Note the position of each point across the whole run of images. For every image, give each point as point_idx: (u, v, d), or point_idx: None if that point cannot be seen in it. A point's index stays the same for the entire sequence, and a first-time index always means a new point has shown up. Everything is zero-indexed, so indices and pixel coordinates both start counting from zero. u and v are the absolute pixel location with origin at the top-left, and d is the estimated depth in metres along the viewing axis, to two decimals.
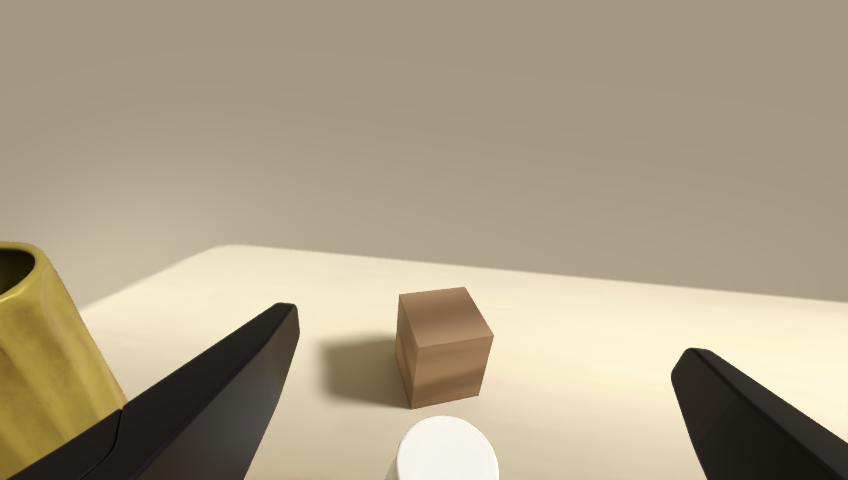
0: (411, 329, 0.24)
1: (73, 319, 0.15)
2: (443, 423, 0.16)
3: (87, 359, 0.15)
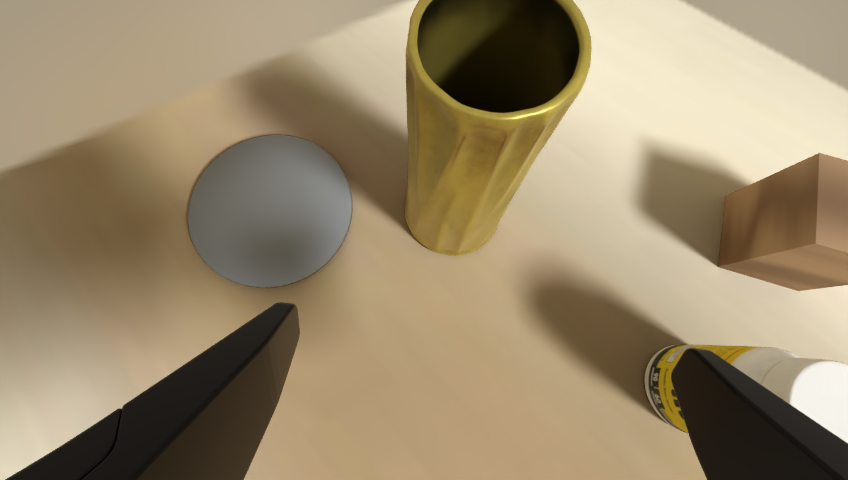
0: (815, 213, 0.18)
1: None
2: None
3: None
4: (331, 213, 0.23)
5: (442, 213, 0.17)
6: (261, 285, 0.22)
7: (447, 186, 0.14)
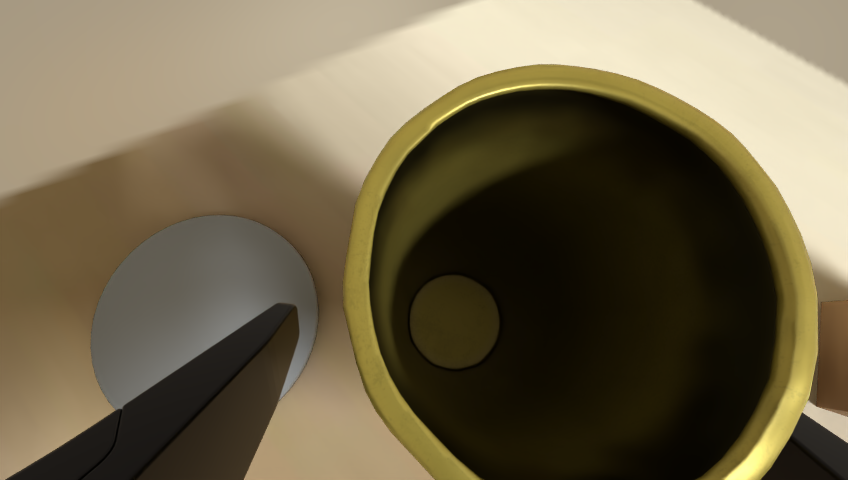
0: None
1: None
2: None
3: None
4: None
5: None
6: None
7: None
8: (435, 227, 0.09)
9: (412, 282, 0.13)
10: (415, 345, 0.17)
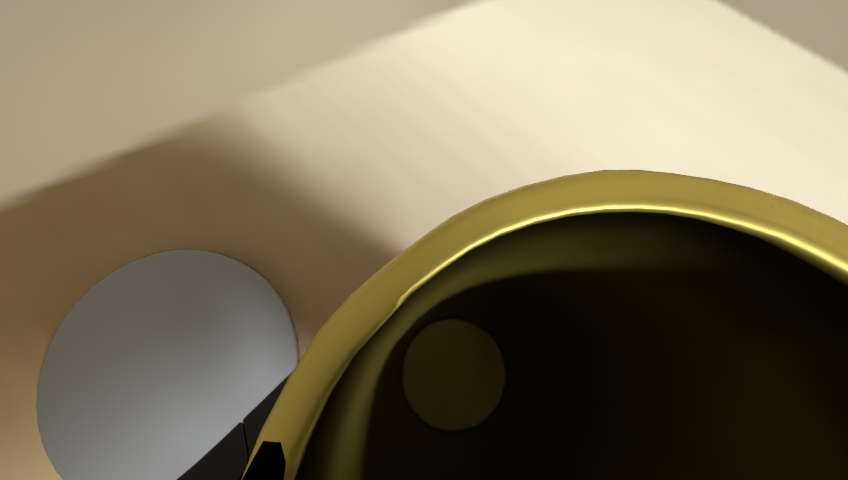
0: None
1: None
2: None
3: None
4: (263, 383, 0.15)
5: None
6: None
7: None
8: (427, 313, 0.07)
9: (403, 346, 0.11)
10: (408, 402, 0.15)
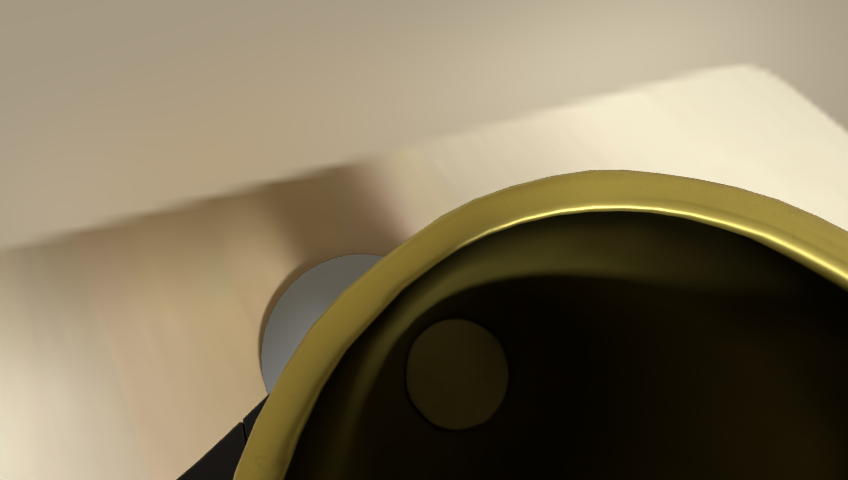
0: None
1: None
2: None
3: None
4: None
5: None
6: None
7: None
8: (427, 312, 0.07)
9: (405, 345, 0.11)
10: (412, 401, 0.15)
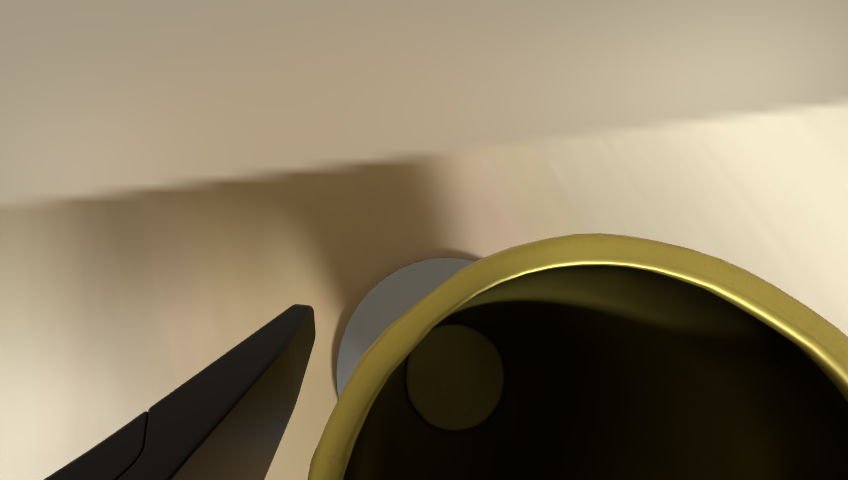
0: None
1: None
2: None
3: None
4: None
5: None
6: None
7: None
8: None
9: None
10: (412, 403, 0.15)
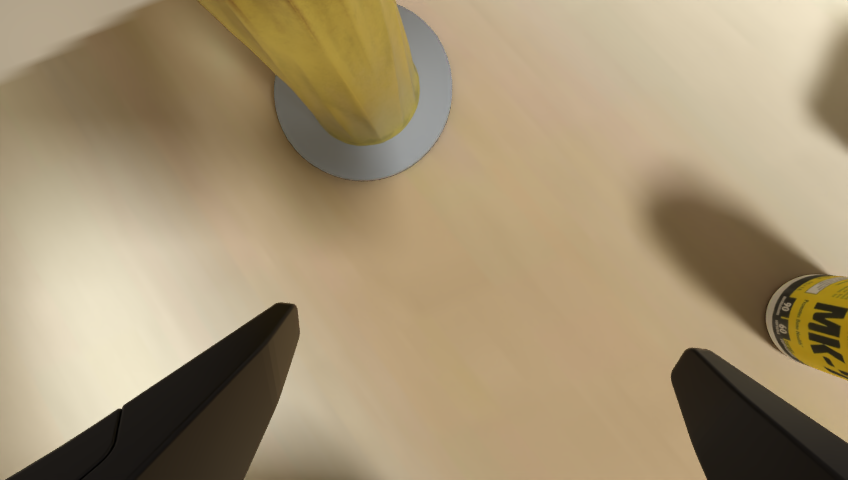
0: None
1: None
2: None
3: None
4: (429, 99, 0.20)
5: (315, 95, 0.14)
6: (355, 178, 0.21)
7: (279, 55, 0.11)
8: None
9: None
10: None
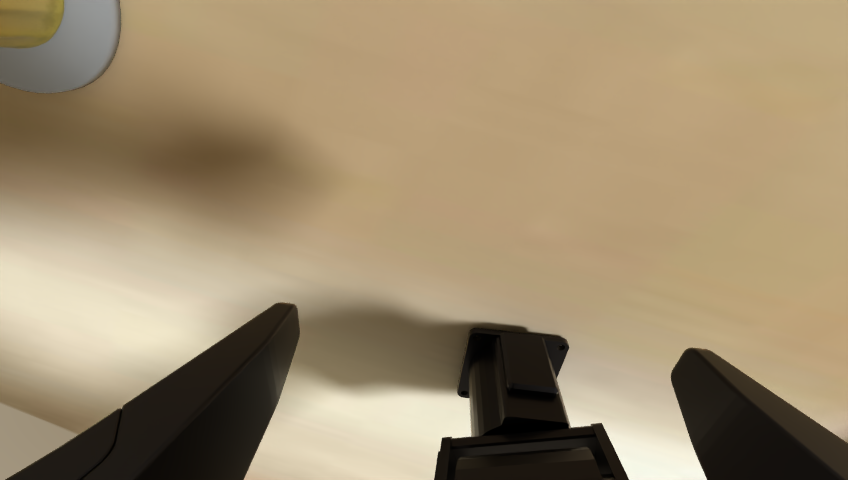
0: None
1: None
2: None
3: None
4: None
5: None
6: (90, 74, 0.17)
7: None
8: None
9: None
10: None
